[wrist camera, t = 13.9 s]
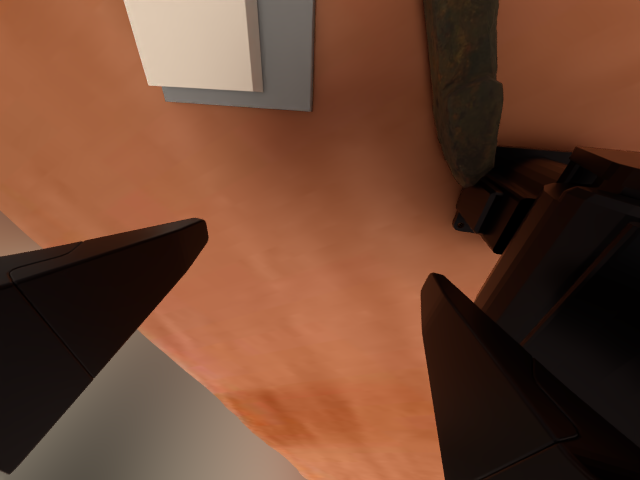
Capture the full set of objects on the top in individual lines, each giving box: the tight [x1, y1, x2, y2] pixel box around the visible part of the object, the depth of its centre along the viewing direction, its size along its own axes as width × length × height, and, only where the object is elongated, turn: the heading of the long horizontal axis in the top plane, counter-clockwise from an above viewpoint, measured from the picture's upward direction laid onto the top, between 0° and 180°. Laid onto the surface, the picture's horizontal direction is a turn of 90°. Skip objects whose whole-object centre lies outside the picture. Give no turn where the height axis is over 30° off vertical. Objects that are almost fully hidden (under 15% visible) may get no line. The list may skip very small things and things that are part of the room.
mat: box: [162, 0, 315, 111], centre depth 15 cm, size 12×9×1 cm
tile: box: [124, 0, 263, 92], centre depth 14 cm, size 2×7×8 cm
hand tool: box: [423, 0, 503, 188], centre depth 11 cm, size 19×4×5 cm, turn 16°
